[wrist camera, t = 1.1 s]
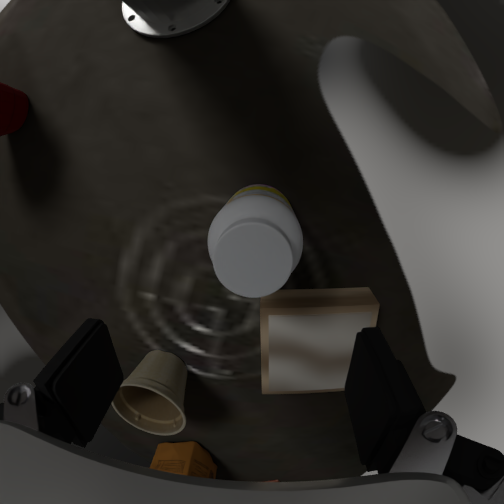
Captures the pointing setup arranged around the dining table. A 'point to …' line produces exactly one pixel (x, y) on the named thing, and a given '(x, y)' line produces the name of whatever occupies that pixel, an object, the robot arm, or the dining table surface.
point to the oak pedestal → (312, 337)
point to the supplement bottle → (255, 241)
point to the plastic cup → (12, 109)
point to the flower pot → (154, 394)
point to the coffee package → (184, 460)
